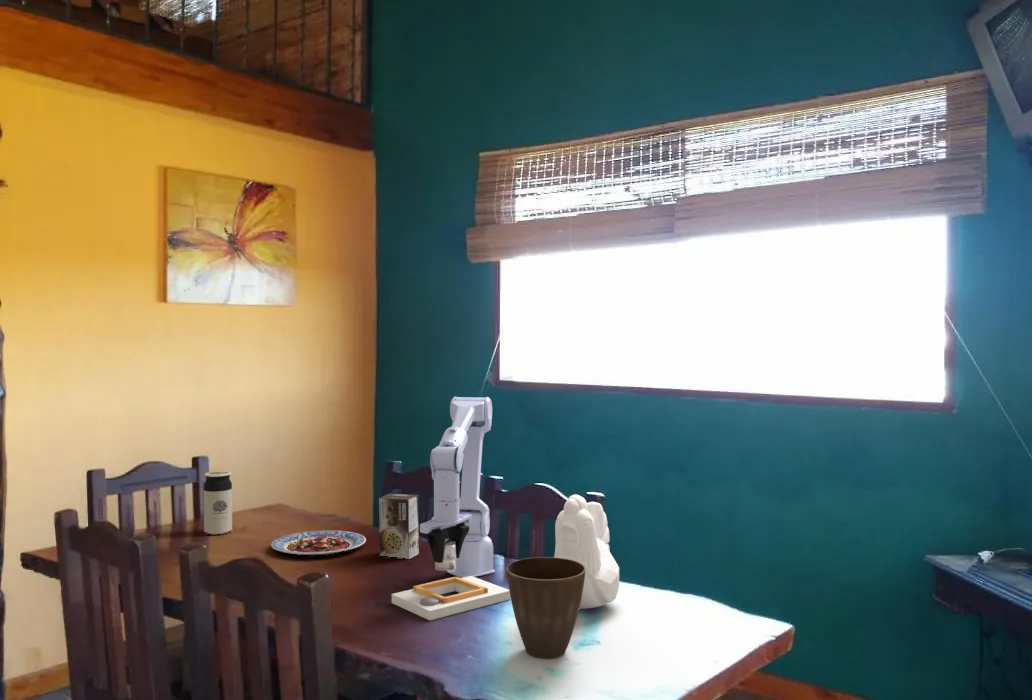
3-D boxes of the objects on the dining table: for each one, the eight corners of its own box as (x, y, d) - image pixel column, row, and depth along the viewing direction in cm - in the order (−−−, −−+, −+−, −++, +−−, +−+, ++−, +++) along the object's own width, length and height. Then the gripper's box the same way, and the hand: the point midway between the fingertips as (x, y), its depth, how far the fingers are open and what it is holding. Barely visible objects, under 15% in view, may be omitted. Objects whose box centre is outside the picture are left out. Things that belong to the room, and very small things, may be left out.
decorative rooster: (592, 623, 174) (592, 504, 174) (529, 609, 184) (530, 495, 183) (648, 593, 194) (648, 486, 194) (589, 581, 204) (590, 479, 203)
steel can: (446, 564, 194) (445, 537, 194) (460, 567, 191) (460, 540, 191) (430, 568, 190) (430, 541, 190) (445, 571, 187) (444, 544, 187)
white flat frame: (470, 584, 202) (470, 571, 202) (510, 599, 190) (510, 586, 190) (391, 602, 188) (391, 589, 188) (429, 620, 176) (429, 606, 176)
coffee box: (419, 553, 230) (419, 494, 229) (409, 559, 224) (409, 499, 223) (389, 551, 233) (389, 492, 232) (378, 556, 227) (378, 497, 226)
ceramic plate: (385, 545, 240) (385, 535, 240) (318, 566, 218) (318, 555, 218) (319, 533, 254) (319, 524, 254) (251, 552, 232) (251, 541, 232)
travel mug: (205, 530, 257) (205, 471, 256) (233, 529, 259) (232, 470, 258) (202, 536, 249) (202, 475, 249) (230, 535, 251) (230, 474, 250)
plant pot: (595, 663, 153) (595, 576, 153) (515, 670, 150) (515, 581, 150) (573, 635, 168) (573, 555, 167) (499, 640, 165) (499, 559, 164)
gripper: (456, 492, 198) (456, 550, 198) (410, 502, 187) (410, 563, 187) (478, 496, 193) (478, 555, 194) (432, 506, 182) (432, 568, 183)
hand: (446, 559), depth 190 cm, fingers closed on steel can, 5 cm apart
